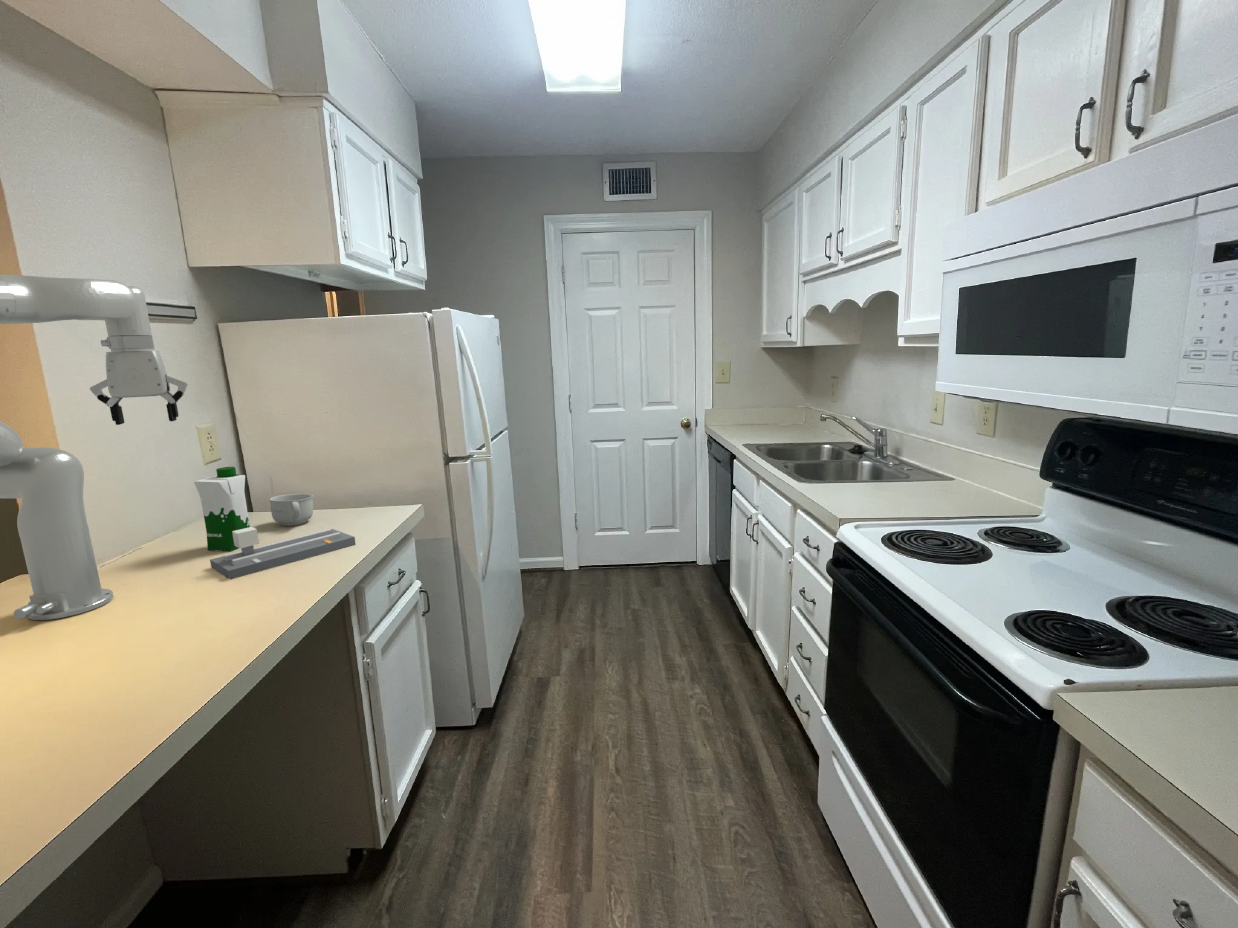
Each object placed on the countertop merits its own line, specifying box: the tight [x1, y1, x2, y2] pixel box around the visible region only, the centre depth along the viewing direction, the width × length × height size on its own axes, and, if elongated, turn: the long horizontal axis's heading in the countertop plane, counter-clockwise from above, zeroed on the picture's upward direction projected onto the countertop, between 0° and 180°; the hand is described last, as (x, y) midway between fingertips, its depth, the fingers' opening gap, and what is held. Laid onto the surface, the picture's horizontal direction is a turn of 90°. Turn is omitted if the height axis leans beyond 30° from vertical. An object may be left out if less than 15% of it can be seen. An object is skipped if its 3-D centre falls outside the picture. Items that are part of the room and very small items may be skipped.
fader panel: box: [209, 528, 356, 580], centre depth 141 cm, size 28×12×3 cm, turn 141°
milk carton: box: [193, 466, 251, 553], centre depth 148 cm, size 9×9×20 cm
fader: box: [232, 526, 260, 557], centre depth 134 cm, size 4×3×6 cm
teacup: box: [269, 493, 314, 527], centre depth 167 cm, size 14×11×8 cm
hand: (147, 422), depth 132 cm, fingers open, 9 cm apart
